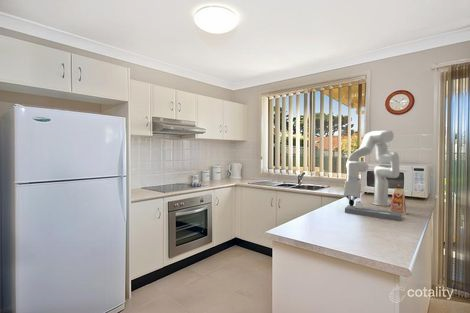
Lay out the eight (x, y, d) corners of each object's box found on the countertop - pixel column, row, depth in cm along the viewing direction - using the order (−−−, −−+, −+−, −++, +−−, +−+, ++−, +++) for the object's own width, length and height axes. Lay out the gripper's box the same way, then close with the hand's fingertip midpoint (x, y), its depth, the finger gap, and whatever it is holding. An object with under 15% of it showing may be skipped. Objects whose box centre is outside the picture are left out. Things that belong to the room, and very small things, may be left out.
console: (347, 209, 182) (348, 205, 182) (401, 216, 164) (401, 212, 164) (344, 212, 172) (344, 208, 172) (400, 221, 154) (401, 216, 154)
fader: (356, 206, 176) (356, 200, 175) (362, 207, 173) (363, 201, 173) (355, 208, 171) (355, 201, 171) (361, 208, 169) (362, 202, 169)
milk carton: (405, 215, 170) (406, 185, 169) (389, 212, 175) (390, 183, 175) (406, 212, 177) (407, 184, 176) (390, 210, 183) (392, 182, 182)
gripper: (365, 179, 174) (364, 206, 174) (342, 178, 182) (341, 203, 182) (363, 180, 167) (362, 208, 168) (339, 178, 176) (338, 205, 176)
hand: (351, 205), depth 175 cm, fingers closed
